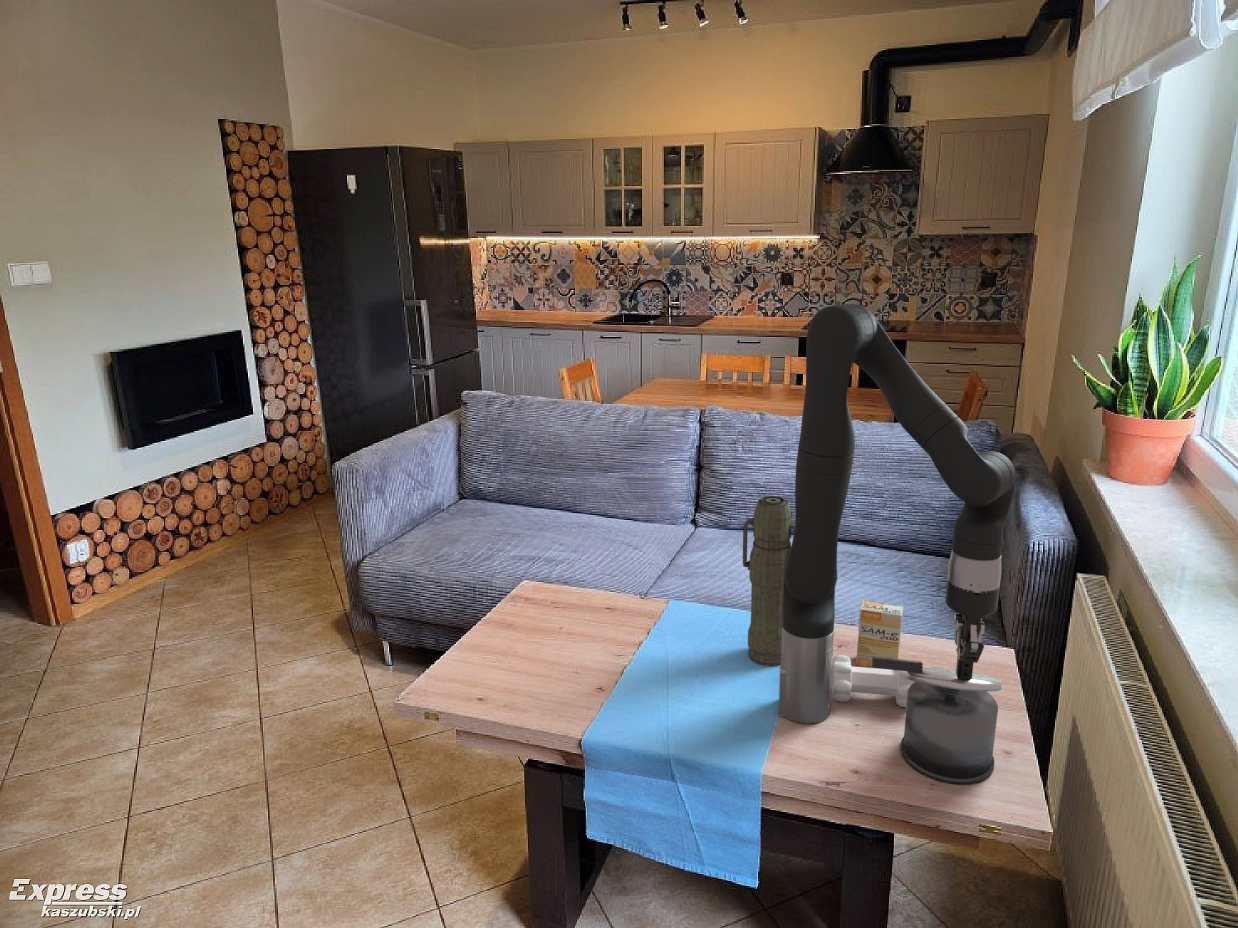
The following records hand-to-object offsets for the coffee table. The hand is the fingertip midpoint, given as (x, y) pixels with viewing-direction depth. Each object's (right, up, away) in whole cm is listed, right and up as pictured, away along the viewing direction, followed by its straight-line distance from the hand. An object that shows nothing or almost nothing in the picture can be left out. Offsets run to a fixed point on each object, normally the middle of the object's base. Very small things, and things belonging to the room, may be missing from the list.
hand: (963, 677), depth 131 cm
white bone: (-7, -11, +25) cm, 28 cm away
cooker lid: (-3, -2, +5) cm, 6 cm away
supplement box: (-2, -7, +37) cm, 37 cm away
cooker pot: (0, -15, +7) cm, 17 cm away
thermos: (-24, -6, +41) cm, 48 cm away
